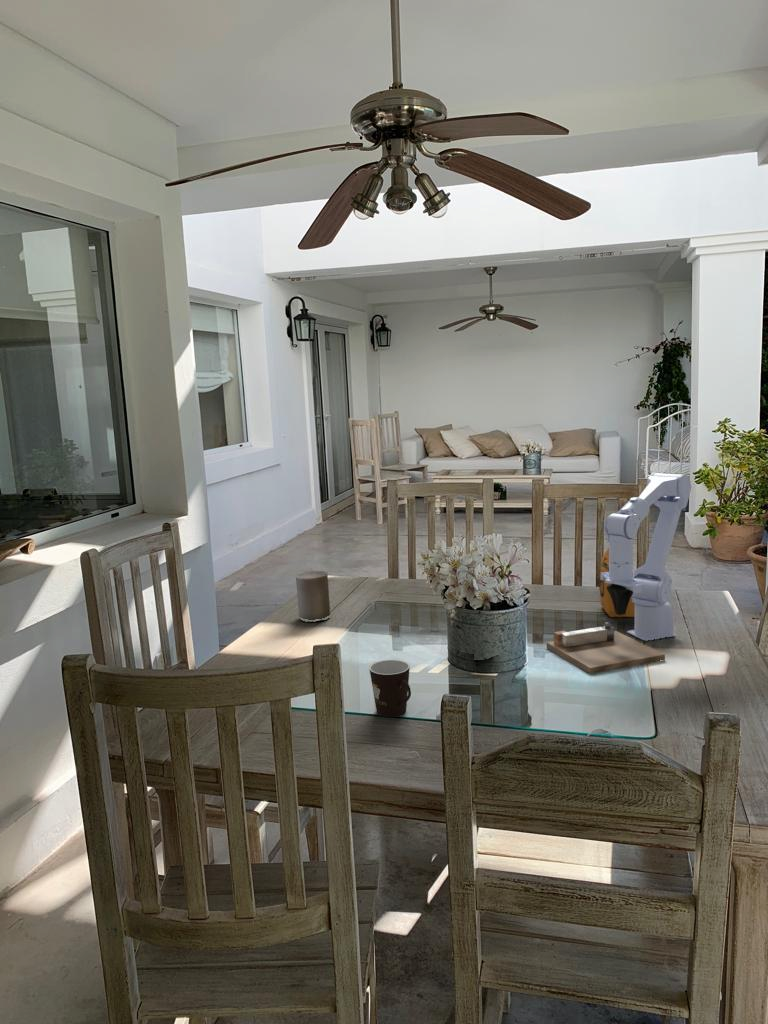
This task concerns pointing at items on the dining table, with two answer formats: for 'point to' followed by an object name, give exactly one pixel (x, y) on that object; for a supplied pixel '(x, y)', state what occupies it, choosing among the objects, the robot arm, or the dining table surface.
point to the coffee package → (605, 596)
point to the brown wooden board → (606, 653)
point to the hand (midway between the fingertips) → (620, 613)
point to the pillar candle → (313, 595)
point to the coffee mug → (390, 687)
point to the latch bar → (588, 635)
